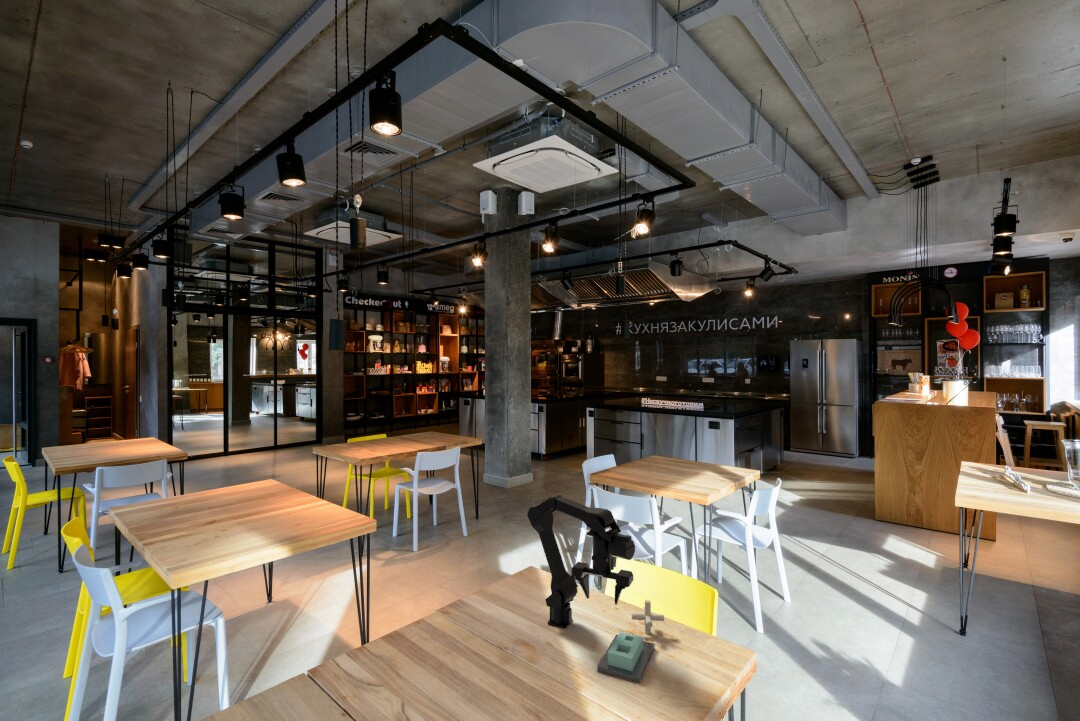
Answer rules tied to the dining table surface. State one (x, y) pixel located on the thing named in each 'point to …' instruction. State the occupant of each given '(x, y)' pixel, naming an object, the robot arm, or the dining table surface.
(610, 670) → the post base
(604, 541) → the robot arm
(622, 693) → the dining table surface
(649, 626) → the pipe connector
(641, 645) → the teal hollow block
